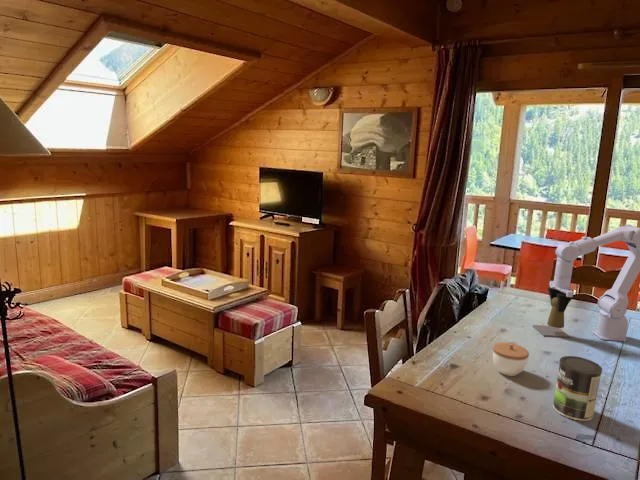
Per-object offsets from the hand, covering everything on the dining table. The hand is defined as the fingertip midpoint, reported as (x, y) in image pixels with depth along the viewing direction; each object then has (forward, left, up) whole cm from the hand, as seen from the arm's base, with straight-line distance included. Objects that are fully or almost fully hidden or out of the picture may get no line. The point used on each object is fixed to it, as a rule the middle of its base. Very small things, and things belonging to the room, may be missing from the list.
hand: (557, 308), depth 186 cm
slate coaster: (+1, -2, -11) cm, 11 cm away
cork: (0, 0, -7) cm, 7 cm away
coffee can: (+21, +56, -10) cm, 61 cm away
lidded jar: (+31, +34, -10) cm, 47 cm away
